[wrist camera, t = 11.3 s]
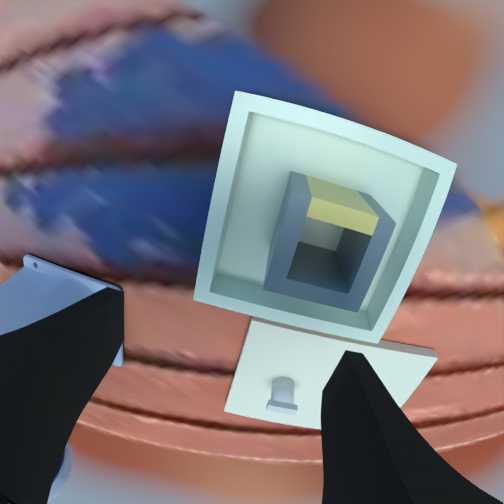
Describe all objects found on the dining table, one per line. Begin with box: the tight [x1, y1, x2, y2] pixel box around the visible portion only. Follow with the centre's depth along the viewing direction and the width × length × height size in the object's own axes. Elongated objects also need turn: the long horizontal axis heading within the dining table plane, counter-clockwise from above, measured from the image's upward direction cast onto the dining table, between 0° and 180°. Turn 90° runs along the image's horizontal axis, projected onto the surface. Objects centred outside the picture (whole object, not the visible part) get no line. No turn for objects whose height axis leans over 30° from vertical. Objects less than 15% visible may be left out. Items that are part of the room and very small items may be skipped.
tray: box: [193, 91, 457, 344], centre depth 16 cm, size 11×11×3 cm
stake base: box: [224, 316, 438, 429], centre depth 21 cm, size 14×10×4 cm
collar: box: [263, 171, 396, 313], centre depth 15 cm, size 4×4×4 cm
